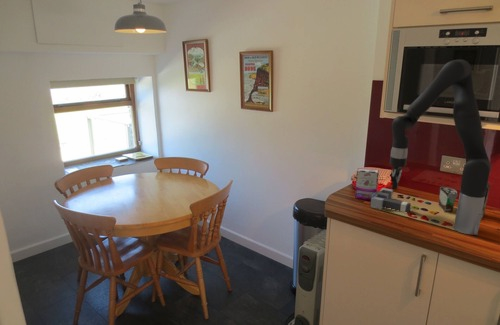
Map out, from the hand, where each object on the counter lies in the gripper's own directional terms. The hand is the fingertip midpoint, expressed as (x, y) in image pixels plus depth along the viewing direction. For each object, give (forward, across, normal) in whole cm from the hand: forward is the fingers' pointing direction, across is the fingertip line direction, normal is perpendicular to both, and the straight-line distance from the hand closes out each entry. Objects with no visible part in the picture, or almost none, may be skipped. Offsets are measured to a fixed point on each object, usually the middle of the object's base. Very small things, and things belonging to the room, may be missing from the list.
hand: (394, 188), depth 171 cm
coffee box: (+11, +16, -35) cm, 40 cm away
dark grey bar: (+11, 0, 0) cm, 11 cm away
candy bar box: (+11, +5, +16) cm, 20 cm away
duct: (+10, +4, +7) cm, 14 cm away
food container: (+11, +16, -23) cm, 30 cm away
